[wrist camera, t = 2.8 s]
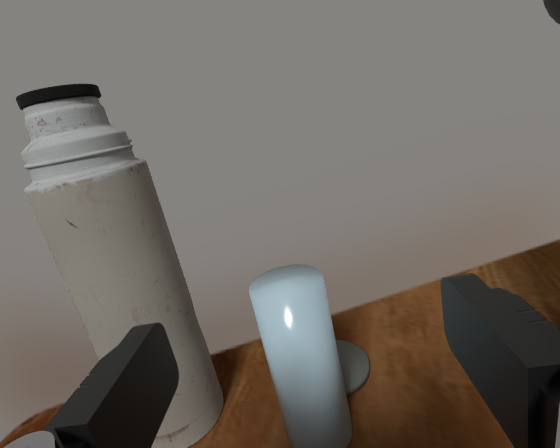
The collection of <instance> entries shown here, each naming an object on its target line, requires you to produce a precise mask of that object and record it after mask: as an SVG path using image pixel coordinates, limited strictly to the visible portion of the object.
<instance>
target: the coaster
mask: <svg viewBox="0 0 560 448" xmlns="http://www.w3.org/2000/svg"><path fill="white" fill-rule="evenodd" d="M336 345H337V350H338V355H339V360H340V365H341V370H342V375H343V381H344V386H345V391H346V396H348V395H350V394H352V393H354V392H356V391H357V390H359V389H360V388H361V387H362V386H363V385H364V384H365V382H366V381H367V379H368V377H369V373H370V365H369V359H368V357H367V355H366V353H365V352H364V350H363V349H362V348H360V347H359V346H357V345H356V344H354V343H351V342H348V341H343V340H336Z"/></svg>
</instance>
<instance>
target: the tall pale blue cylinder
mask: <svg viewBox="0 0 560 448" xmlns="http://www.w3.org/2000/svg"><path fill="white" fill-rule="evenodd" d="M249 295H250V299H251V302H252V306H253V310H254V313H255V317H256V320H257V324H258V328H259V332H260V335H261V339H262V343H263V346H264V350H265V354H266V357H267V361H268V365H269V368H270V372H271V376H272V379H273V383H274V387H275V390H276V394H277V398H278V401H279V405H280V409H281V412H282V416H283V420H284V423H285V427H286V431H287V434H288V438H289V442H290V444H291V446H292V448H347V446H348V445H349V443H350V441H351V438H352V434H353V427H352V421H351V416H350V411H349V406H348V401H347V396H346V391H345V386H344V381H343V375H342V370H341V365H340V360H339V355H338V350H337V345H336V340H335V335H334V330H333V324H332V319H331V314H330V309H329V304H328V299H327V294H326V289H325V284H324V279H323V274H322V272H321V271H320V270H319V269H318V268H316V267H313V266H309V265H288V266H283V267H279V268H276V269H272V270H270V271H268V272H266V273H264V274H262V275H260V276H259V277H257V278H256V279H255V280H254V281H253V282H252V283H251V285H250V287H249Z"/></svg>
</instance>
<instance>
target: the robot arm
mask: <svg viewBox="0 0 560 448" xmlns="http://www.w3.org/2000/svg"><path fill="white" fill-rule="evenodd" d="M543 1H544V5H545V8H546V9H547V11H548V13H549V15H550V16H551V17H552V18H553V19H554V20H555V21H556V22H557V23H558V24H560V0H543ZM441 293H442V306H443V318H444V329H445V334H446V338H447V341H448V344H449V346H450V348H451V350H452V352H453V353H454V355H455V357H456V358H457V360H458V361H459V363H460V364H461V366H462V367H463V369H464V370H465V372H466V373H467V375H468V376H469V378H470V380H471V381H472V383H473V384H474V386H475V387H476V389H477V390H478V392H479V393H480V395H481V396H482V398H483V399H484V401H485V402H486V404H487V406H488V407H489V409H490V410H491V412H492V413H493V415H494V416H495V418H496V419H497V421H498V422H499V424H500V425H501V427H502V429H503V430H504V432H505V433H506V435H507V436H508V438H509V439H510V441H511V442H512V444H513V445H514V447H515V448H560V329H559V328H557V327H556V326H555V325H554V324H553V323H551V322H548V320H547V319H546V318H545V317H544V316H543V315H542V314H540V313H539V312H538V311H535V309H534V308H533V307H532V306H531V305H529V304H528V303H527V302H526V301H525V300H523V299H522V298H521V297H519V296H517V295H515V294H512V293H510V292H508V291H505V290H503V289H501V288H496V289H491V288H489V287H488V286H487V285H486V284H485V283H484V282H483V281H482V280H481V279H479V278H478V277H477V276H476V275H475V274H473V273H468V274H462V275H456V276H450V277H444V278H442V280H441ZM178 382H179V369H178V365H177V362H176V359H175V356H174V353H173V350H172V348H171V345H170V342H169V339H168V336H167V333H166V330H165V328H164V326H163V325H162V324H161V323H159V322H157V323H151V324H145V325H139V326H134V327H132V328H131V329H130V330H129V332H128V333H127V334H126V336H125V337H124V338H123V339H122V341H121V342H120V343H119V345H118V346H116V347H115V348H114V349H113V350H111V351H110V352H109V353H108V354H106V355H105V356H104V357H103V358H101V359H100V360H99V362H98V363H97V364H96V365H95V367H94V368H93V369H92V370H91V372H90V374H89V376H87V377H86V378H85V379H84V380H83V382H82V383H81V384H80V388H77V389H76V391H75V392H74V393H73V394H72V395H71V397H70V398H69V399H68V400H67V402H66V403H65V404H64V405H63V407H62V408H61V409H60V410H59V412H58V413H57V414H56V415H55V417H54V418H53V419H52V420H51V422H50V423H49V424H48V425H47V427H46V428H45V429H44V430H43V431H38V432H34V433H30V434H28V435H25V436H23V437H21V438H19V439H17V440H15V441H13V442H12V443H10V444H8V445H7V446H5V447H4V448H151V447H152V445H153V442H154V440H155V438H156V435H157V433H158V431H159V429H160V426H161V424H162V422H163V419H164V417H165V415H166V413H167V410H168V408H169V406H170V403H171V401H172V399H173V397H174V394H175V392H176V390H177V387H178Z"/></svg>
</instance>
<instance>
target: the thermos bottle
mask: <svg viewBox="0 0 560 448" xmlns="http://www.w3.org/2000/svg"><path fill="white" fill-rule="evenodd" d="M100 97H101V93H100V91H99V88H98V86H97V85H93V84H70V85H60V86H54V87H48V88H42V89H38V90H34V91H30V92H27V93H24V94H21V95H19V96H17V97H16V101H17V103H18V106H19V108H20V109H21V110H23V113H24V115H25V119H24V122H25V125H26V127H27V130H28V132H29V134H30V137H31V143H30V144H29V145H28V146H27V147H26V148H25V149H24V150H23V152H22V153H21V154H22V157H23V159H24V161H25V164H26V165H25V166H24V168H26V169H28V171H29V173H30V175H31V178H32V181H33V182H32V184H30V185H29V186H28V187H26V188H25V189H24V193H25V195H26V197H27V199H28V202H29V204H30V206H31V208H32V211H33V212H34V215H35V217H36V220H37V222H38V224H39V226H40V229H41V231H42V233H43V235H44V238H45V240H46V242H47V244H48V246H49V249H50V251H51V253H52V255H53V258H54V260H55V262H56V264H57V267H58V269H59V271H60V273H61V276H62V278H63V280H64V282H65V284H66V287H67V289H68V291H69V293H70V296H71V298H72V300H73V302H74V305H75V307H76V309H77V311H78V314H79V316H80V318H81V320H82V322H83V325H84V327H85V329H86V331H87V334H88V336H89V338H90V340H91V342H92V345H93V347H94V349H95V351H96V354H97V356H98V358H99V360H100V359H101V358H103V357H104V356H105V355H106V354H108V353H109V352H110V351H111V350H113V349H114V348H115V347H116V346H118V345H119V343H120V342H121V341H122V339H123V338H124V337H125V336H126V334H127V333H128V332H129V330H130V329H131V328H132V327H134V326H139V325H145V324H151V323H157V322H159V323H161V324H162V325H163V326H164V328H165V330H166V333H167V336H168V339H169V342H170V345H171V348H172V350H173V353H174V356H175V359H176V362H177V365H178V369H179V382H178V387H177V390H176V392H175V394H174V397H173V399H172V401H171V403H170V406H169V408H168V410H167V413H166V415H165V417H164V419H163V422H162V424H161V426H160V429H159V431H158V433H157V435H156V438H155V440H154V442H153V445H152V447H151V448H188V447H190V446H191V445H193V444H195V443H196V442H198V441H199V440H200V439H201V438H203V437H204V436H205V435H206V434H207V433H208V432H209V431H210V430H211V429H212V427H213V426H214V425H215V423H216V422H217V420H218V418H219V416H220V414H221V411H222V408H223V400H224V399H223V394H222V390H221V387H220V384H219V381H218V378H217V375H216V372H215V369H214V366H213V363H212V360H211V357H210V354H209V351H208V348H207V345H206V342H205V339H204V336H203V334H202V332H201V329H200V326H199V324H198V321H197V318H196V315H195V311H194V307H193V303H192V300H191V297H190V293H189V290H188V287H187V284H186V281H185V278H184V275H183V272H182V269H181V266H180V263H179V259H178V256H177V254H176V250H175V247H174V244H173V242H172V238H171V235H170V232H169V229H168V226H167V223H166V220H165V217H164V214H163V211H162V208H161V205H160V202H159V199H158V196H157V193H156V190H155V186H154V183H153V180H152V177H151V174H150V172H149V168H148V165H147V162H146V161H145V160H143V159H138V158H135V157H134V154H133V152H132V145H130V142H131V140H129V139H128V137H127V134H126V132H125V131H123V130H121V129H118V128H115V127H113V126H111V125H110V123H109V121H108V118H107V115H106V112H105V110H104V108H103V106H102V105H101V104H100V103H99V100H98V98H100Z"/></svg>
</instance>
